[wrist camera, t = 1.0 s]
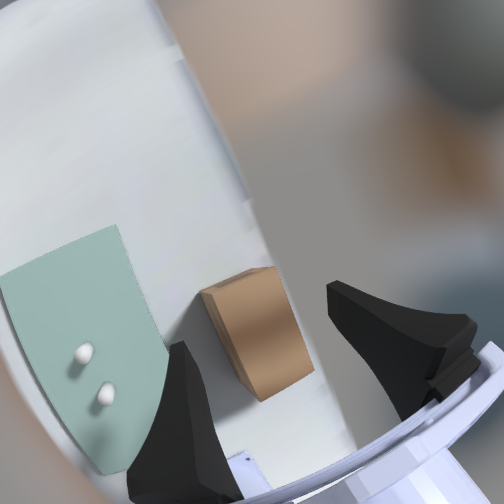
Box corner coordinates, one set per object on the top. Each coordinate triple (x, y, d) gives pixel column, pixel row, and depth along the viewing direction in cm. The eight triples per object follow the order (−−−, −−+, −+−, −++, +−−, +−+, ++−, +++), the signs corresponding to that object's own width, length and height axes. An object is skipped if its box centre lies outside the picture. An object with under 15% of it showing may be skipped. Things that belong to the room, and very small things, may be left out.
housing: (286, 356, 26) (314, 370, 21) (240, 381, 24) (260, 402, 20) (251, 268, 26) (275, 266, 21) (199, 291, 24) (211, 294, 19)
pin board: (212, 431, 23) (221, 449, 20) (104, 470, 19) (102, 491, 15) (116, 226, 22) (111, 217, 19) (2, 277, 18) (-16, 277, 14)
